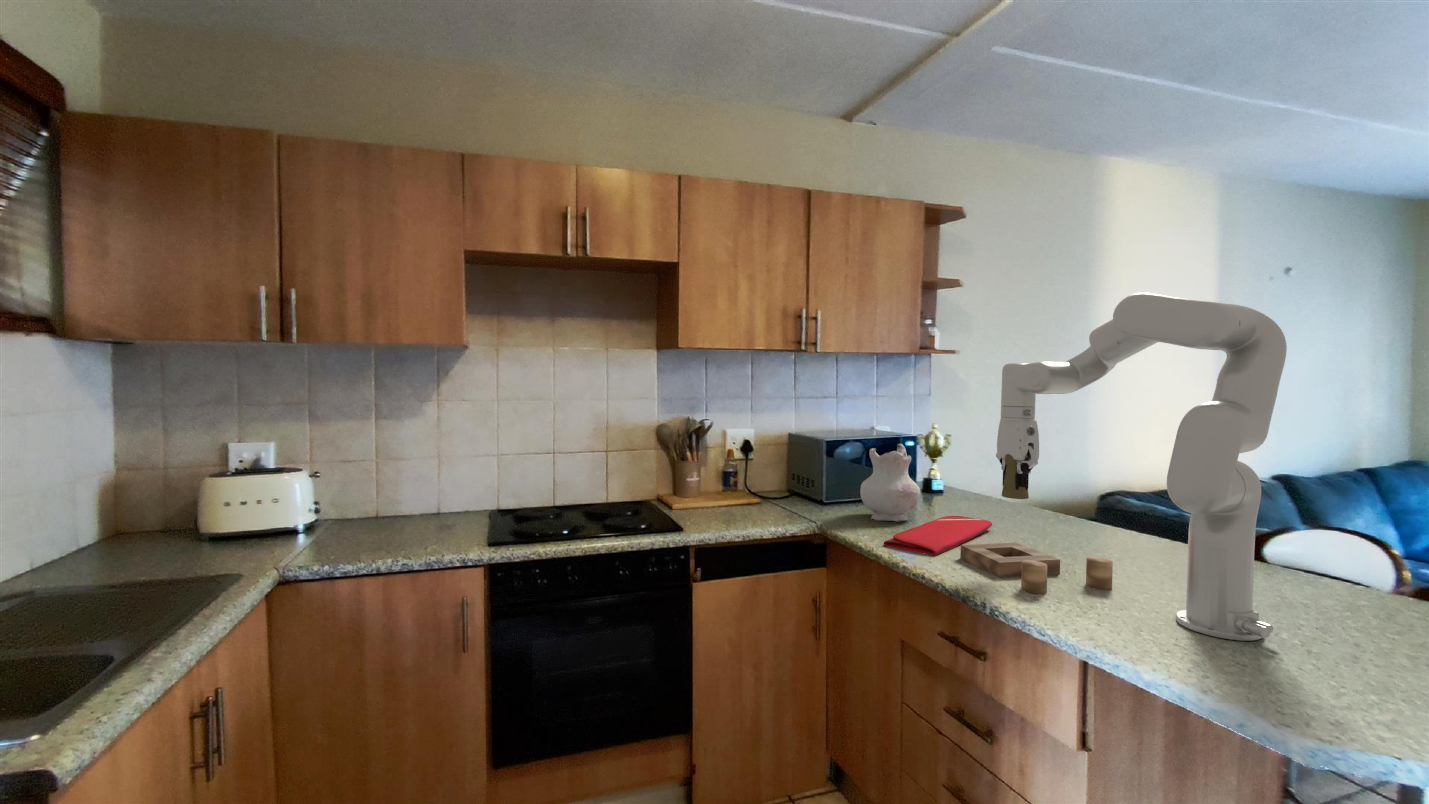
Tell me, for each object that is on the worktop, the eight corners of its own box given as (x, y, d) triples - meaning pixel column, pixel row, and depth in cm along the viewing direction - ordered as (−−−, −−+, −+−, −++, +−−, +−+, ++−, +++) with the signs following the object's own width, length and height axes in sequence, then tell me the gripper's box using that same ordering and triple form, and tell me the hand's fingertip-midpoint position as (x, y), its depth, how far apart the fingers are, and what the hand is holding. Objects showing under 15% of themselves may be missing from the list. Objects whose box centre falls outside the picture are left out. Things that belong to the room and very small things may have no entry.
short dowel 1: (1052, 593, 133) (1052, 566, 133) (1031, 595, 132) (1032, 567, 132) (1035, 586, 138) (1036, 559, 138) (1016, 587, 137) (1016, 560, 137)
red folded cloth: (881, 547, 172) (882, 534, 172) (944, 524, 202) (944, 512, 202) (936, 558, 162) (936, 544, 161) (993, 532, 191) (994, 520, 191)
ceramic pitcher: (870, 512, 223) (865, 443, 223) (926, 513, 214) (921, 441, 214) (856, 524, 203) (851, 449, 203) (917, 526, 195) (912, 447, 195)
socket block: (1059, 573, 147) (1060, 559, 147) (999, 577, 144) (1000, 562, 144) (1015, 555, 163) (1015, 542, 163) (960, 558, 160) (960, 545, 160)
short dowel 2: (1117, 589, 136) (1118, 562, 136) (1098, 590, 135) (1098, 563, 135) (1099, 582, 141) (1100, 556, 141) (1080, 583, 140) (1081, 557, 140)
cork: (1032, 499, 148) (1033, 454, 147) (1005, 498, 149) (1006, 453, 148) (1024, 495, 154) (1026, 451, 153) (998, 493, 155) (1000, 450, 154)
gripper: (1056, 416, 143) (1053, 494, 144) (1008, 411, 159) (1006, 482, 160) (1027, 416, 142) (1024, 495, 142) (982, 411, 158) (980, 482, 159)
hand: (1015, 487), depth 151 cm, fingers closed on cork, 3 cm apart
